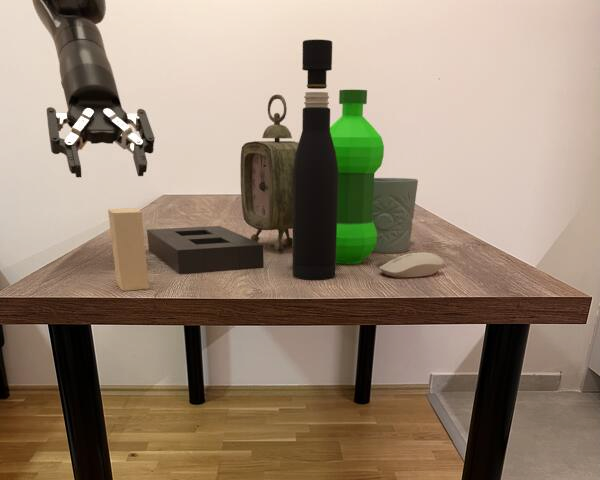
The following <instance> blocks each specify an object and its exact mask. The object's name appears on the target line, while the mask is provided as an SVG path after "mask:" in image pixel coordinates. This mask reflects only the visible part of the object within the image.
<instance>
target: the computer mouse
mask: <svg viewBox="0 0 600 480" xmlns="http://www.w3.org/2000/svg"><path fill="white" fill-rule="evenodd" d="M443 266H444V260H443V259H442V258H441V257H440V256H439V255H436V254H435V253H430V252H411V253H406V254H402V255H400V256H397V257H395V258H393V259H391V260H389V261H387V262H386V263H384V264H383V265H381V266H379V270H380V272H381V273H382V274H384V275H386V276H388V277H391V278H396V279H397V278H398V279H400V278H416V277H417V278H418V277H419V278H420V277H427V276H432V275H434V274H436V273H437V272H438V271H439V270H440V269H441V268H442V267H443Z"/></svg>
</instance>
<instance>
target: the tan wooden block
mask: <svg viewBox="0 0 600 480" xmlns="http://www.w3.org/2000/svg"><path fill="white" fill-rule="evenodd" d="M107 212H108V213H107V214H108V220H109V227H110V228H109V229H110V236H111V237H110V238H111V246H112V254H113V262H114V270H115V278H116V280H115V281H116V285H117V286H118V287H119V289H120V290H121V291H122V292H126V291H127V292H128V291H139V290H149V289H150V285H149V274H148V263H147V255H146V254H147V253H146V243H145V234H144V224H143V215H142V214H143V213H142V211H140V210H139V209H138V208H136V207H130V208H129V207H127V208H125V207H124V208H108V209H107Z"/></svg>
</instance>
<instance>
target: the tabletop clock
mask: <svg viewBox="0 0 600 480" xmlns="http://www.w3.org/2000/svg"><path fill="white" fill-rule="evenodd" d="M275 100H280V102H281V103H282V105H283V112H282V115H281V114H280V113H279V112H275V113H274V114H273V115H272V114H271V107H272V104H273V102H274V101H275ZM287 110H288V109H287V102H286V100H285V98H284V97H283V95H281V94H274V95H271V97H270V98H269V100H268V103H267V115H268V119H269V120H270V121H271V122H272V123H273V124H271V125H269V126H267V127H266V128H265V129H264V131H263V134H262V139H274V140H272V141H271V140H269V141H268V140H266V141H265V140H264V141H263V140H260V141H259V140H256V141H255V140H254V141H248V142H246V143H244V144H243V145H242V146H241V150H240V164H239V165H240V195H241V196H240V197H241V208H242V215H243V220H244V221H245V223H246V224H247V225H248V226H250V227H251V228H253V229H256V230H257V231H256V233H255V234H254V233H253V234H252V235H251V236H250V239H251V240H253V241H256V242H258V243H259V242H260V237H259V236H260V234H261V233H262V231H277V232H278V235H277V242H276V243H275V244H274V246H273V249H274V250H275V252H277V253H281V252H282V251H283V250H284V245H283V243H282V241H283V237H284V234H285V237H286V238H285V239H284V244H285V246H287V247H293V237H290V231H289V230H293V166H294V160H295V155H296V150H297V147H298V144H299V141H294V140H281V139H293V136H292V133H291V130H290V129H289V128H288V127H287V126H286V125H283V124H281V122H283V121H284V120H285V119H286V115H287Z"/></svg>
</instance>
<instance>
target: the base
mask: <svg viewBox="0 0 600 480" xmlns="http://www.w3.org/2000/svg"><path fill="white" fill-rule="evenodd" d="M146 235H147V247H148V251H149V252H151V253H152V254H154V255H155V256H156V258H159V259H160V261H162V262H163V263H165V264H166V265H168V266H169V267H170V268H171V269H172V270H174V271H175V272H176V273H177V274H179V275H183V274H196V273H197V274H198V273H211V272H221V271H234V270H248V269H259V268H265V266H264V265H265V264H264V262H265V261H264V244H262V243H260V242H259V241H258V242H256V241H253V240H251V238H249V237H246V236H244V235H242V234H239V233H237V232H235V231H232V230H230V229H228V228H226V227H223V226H222V225H212V226H211V225H209V226H191V227H190V226H189V227H172V228H171V227H170V228H169V227H168V228H150V229H146Z"/></svg>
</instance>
